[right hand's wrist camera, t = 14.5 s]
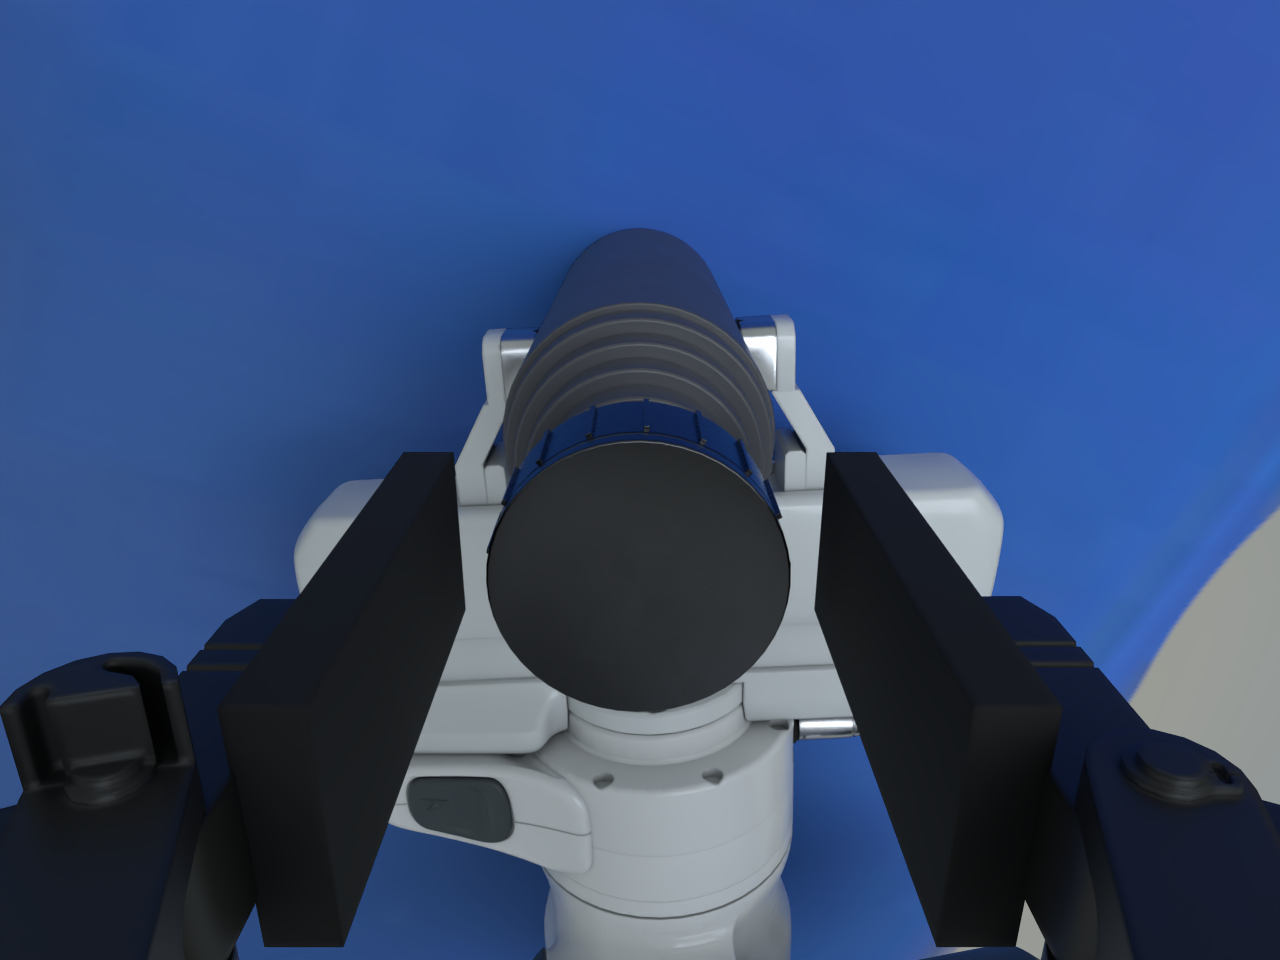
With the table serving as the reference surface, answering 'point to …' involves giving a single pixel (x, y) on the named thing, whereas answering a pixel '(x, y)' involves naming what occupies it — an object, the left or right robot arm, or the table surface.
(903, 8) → the table surface
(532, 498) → the cap
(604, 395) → the bottle
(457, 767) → the left robot arm
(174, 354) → the table surface
